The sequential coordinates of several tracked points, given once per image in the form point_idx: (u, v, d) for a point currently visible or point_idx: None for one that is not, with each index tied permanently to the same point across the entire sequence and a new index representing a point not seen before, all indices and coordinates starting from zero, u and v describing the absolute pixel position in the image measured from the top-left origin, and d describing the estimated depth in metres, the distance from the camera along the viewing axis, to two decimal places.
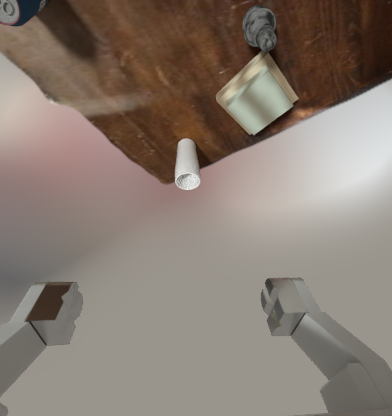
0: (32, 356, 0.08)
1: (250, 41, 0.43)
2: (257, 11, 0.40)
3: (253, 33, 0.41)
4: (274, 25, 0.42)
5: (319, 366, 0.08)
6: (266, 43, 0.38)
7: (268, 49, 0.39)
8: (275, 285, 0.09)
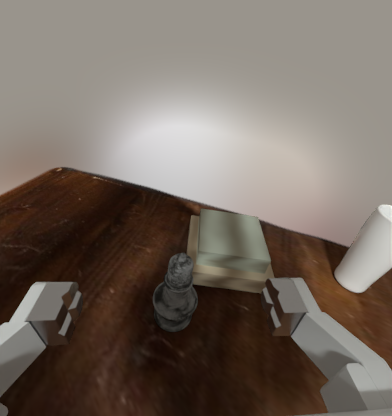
0: (32, 357, 0.08)
1: (194, 296, 0.29)
2: (164, 314, 0.27)
3: (185, 297, 0.28)
4: (161, 285, 0.30)
5: (319, 366, 0.08)
6: (184, 262, 0.25)
7: (187, 255, 0.26)
8: (275, 285, 0.09)
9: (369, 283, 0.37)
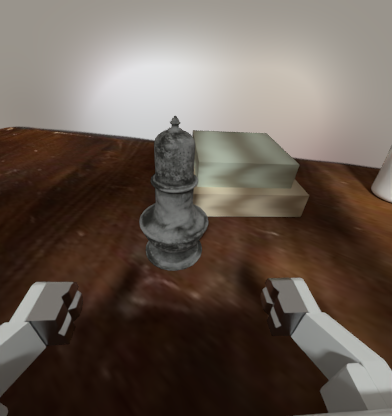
0: (32, 356, 0.08)
1: (201, 214, 0.20)
2: (160, 238, 0.17)
3: (189, 209, 0.18)
4: (151, 207, 0.20)
5: (319, 366, 0.08)
6: (179, 132, 0.15)
7: None
8: (275, 285, 0.09)
9: None
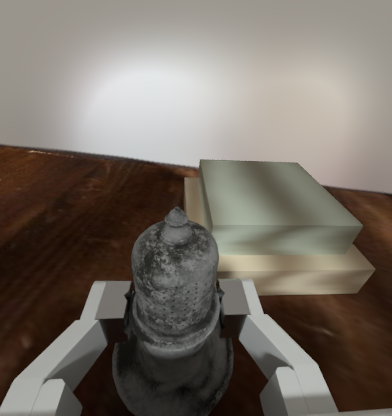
0: (97, 353, 0.08)
1: None
2: (146, 414, 0.09)
3: (203, 350, 0.09)
4: None
5: (262, 369, 0.08)
6: (186, 242, 0.06)
7: (192, 223, 0.08)
8: (222, 286, 0.09)
9: None
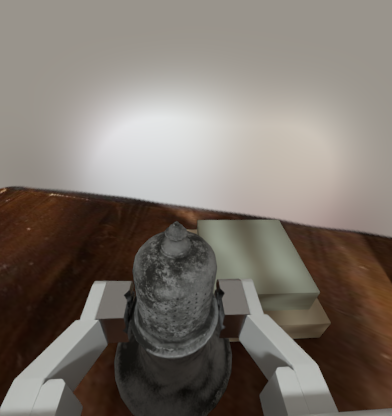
0: (97, 353, 0.08)
1: None
2: None
3: (202, 352, 0.10)
4: None
5: (262, 369, 0.08)
6: (186, 255, 0.07)
7: (190, 234, 0.08)
8: (222, 286, 0.09)
9: None
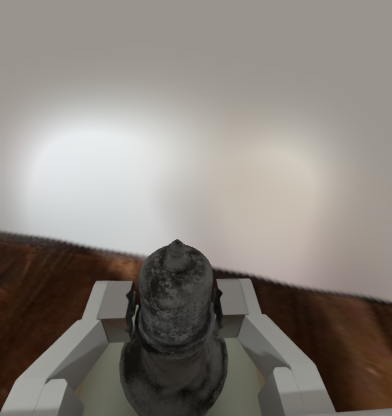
0: (99, 353, 0.08)
1: (216, 340, 0.13)
2: (153, 415, 0.10)
3: (201, 355, 0.11)
4: None
5: (260, 369, 0.08)
6: (185, 268, 0.08)
7: (189, 248, 0.09)
8: (220, 286, 0.09)
9: None
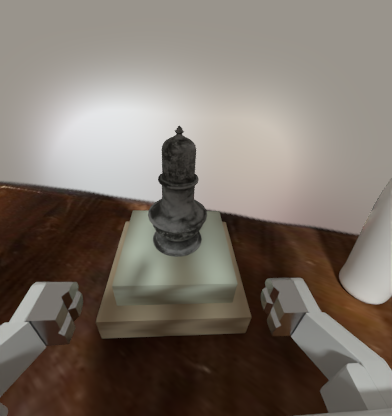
0: (32, 356, 0.08)
1: (201, 208, 0.23)
2: (167, 228, 0.20)
3: (191, 203, 0.21)
4: (157, 203, 0.23)
5: (319, 366, 0.08)
6: (183, 139, 0.18)
7: (185, 137, 0.19)
8: (275, 285, 0.09)
9: None
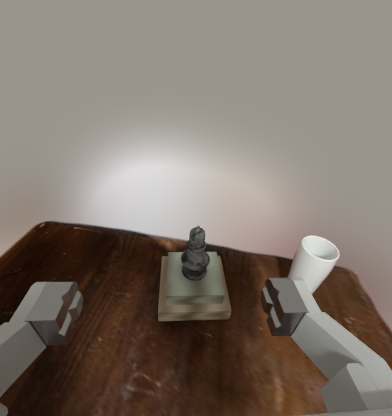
0: (32, 356, 0.08)
1: (206, 255, 0.45)
2: (191, 268, 0.43)
3: (202, 255, 0.43)
4: (184, 252, 0.46)
5: (319, 366, 0.08)
6: (199, 231, 0.40)
7: (200, 228, 0.41)
8: (275, 285, 0.09)
9: None
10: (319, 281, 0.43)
